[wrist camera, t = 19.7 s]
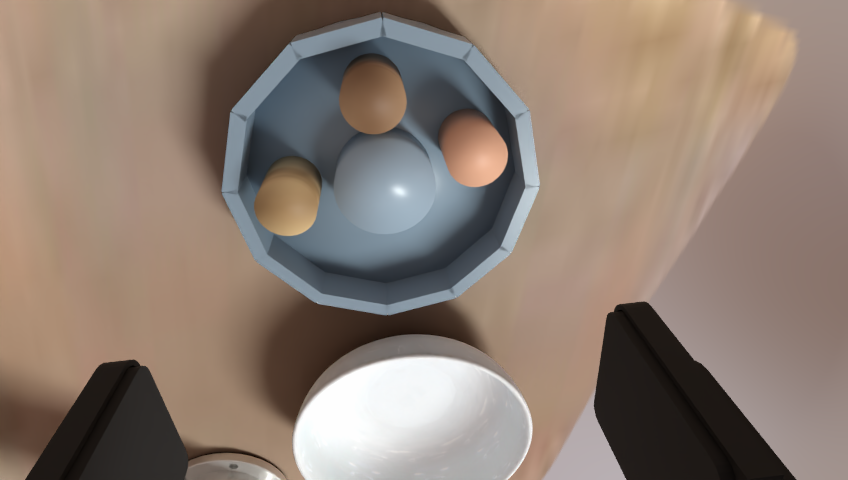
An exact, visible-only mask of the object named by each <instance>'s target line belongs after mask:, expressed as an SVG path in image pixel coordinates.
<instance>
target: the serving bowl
mask: <svg viewBox="0 0 848 480" xmlns="http://www.w3.org/2000/svg"><path fill="white" fill-rule="evenodd" d="M531 438H532V419H531V414H530V411H529V408H528V406H527V403H526V401H525V399H524V397H523V396H522V394H521V392H520V390H519V389H518V387H517V385H516V384H515V382H514V381H513V380H512V378H511V377H510V376H509V374H508V373H507V372H506V371H505V370H504V369H503V368H502V367H501V366H500V365H499V364H498V363H497V362H496V361H495V360H493V359H492V358H491V357H489V356H488V355H486V354H485V353H483V352H482V351H480V350H478V349H476V348H475V347H472V346H470V345H468V344H466V343H463V342H460V341H457V340H454V339H450V338H446V337H441V336H435V335H424V334H409V335H399V336H393V337H387V338H383V339H380V340H376V341H373V342H370V343H368V344H365V345H363V346H361V347H358V348H356V349H354V350H353V351H351V352H349V353H347V354H346V355H344V356H343V357H341V358H340V359H338V360H337V361H336V362H334V363H333V364H332V365H331V366H330V367H329V368H328V369H327V370H326V371H324V372H323V374H322V375H321V376H320V377H319V378H318V379H317V381H316V382H315V383H314V385H313V386H312V387H311V389H310V391H309V392H308V394H307V396H306V397H305V399H304V402H303V404H302V406H301V408H300V411H299V413H298V416H297V419H296V422H295V425H294V429H293V435H292V448H293V454H294V458H295V461H296V464H297V466H298V469H299V470H300V472H301V474H302V476H303V477H304V478H305V480H507V479H509V478H510V477H511V476H512V475H513V474H514V472H515V471H516V470H517V469H518V467H519V466H520V465H521V463H522V461H523V460H524V458H525V456H526V454H527V452H528V449H529V447H530V443H531Z"/></svg>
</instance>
